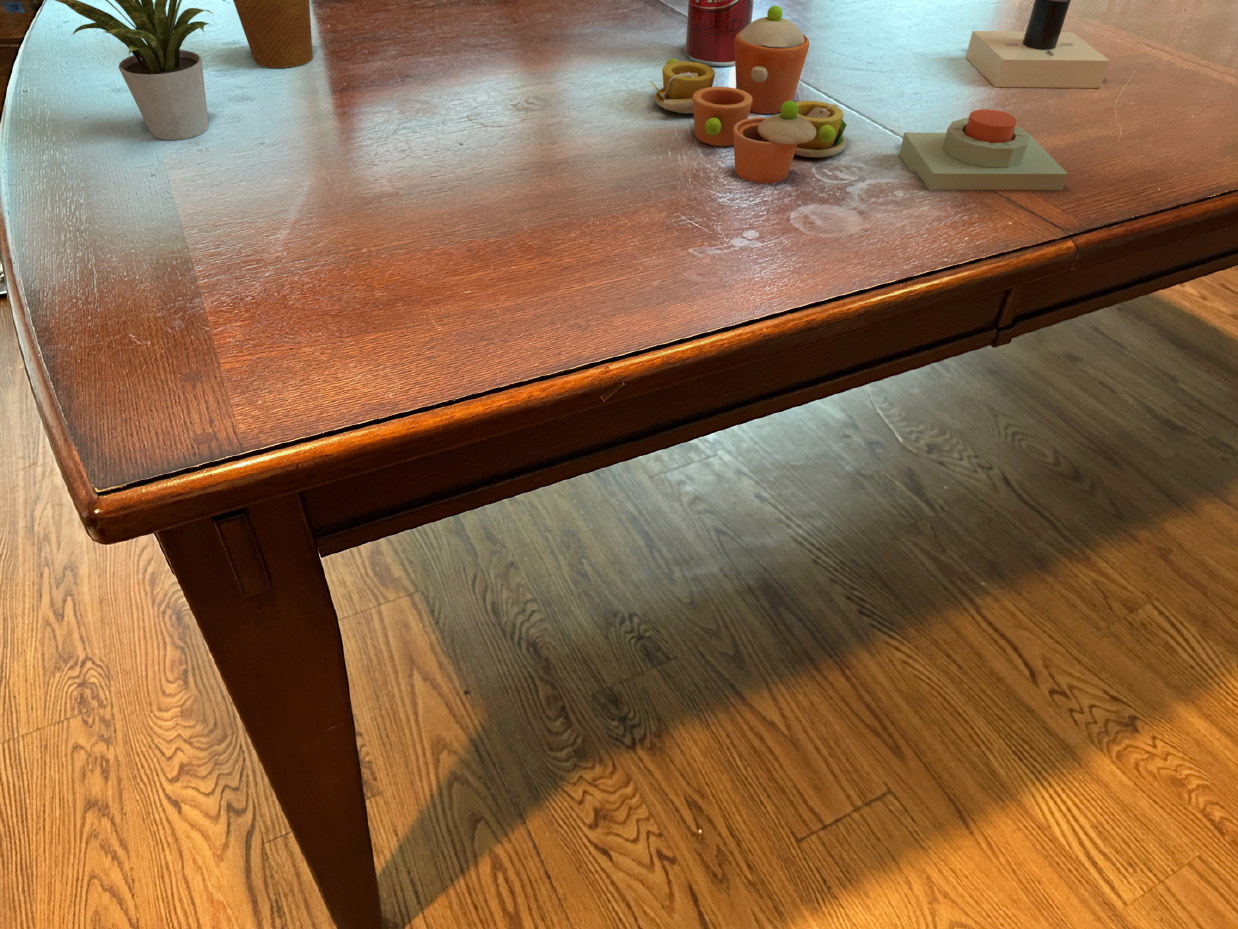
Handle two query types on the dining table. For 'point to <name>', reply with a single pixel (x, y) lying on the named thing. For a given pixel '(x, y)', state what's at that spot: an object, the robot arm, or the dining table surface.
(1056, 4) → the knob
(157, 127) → the house plant
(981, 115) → the button
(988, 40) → the beige slotted block
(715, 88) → the toy tea set
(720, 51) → the soda can
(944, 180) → the button housing
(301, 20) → the disposable coffee cup
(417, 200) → the dining table surface
